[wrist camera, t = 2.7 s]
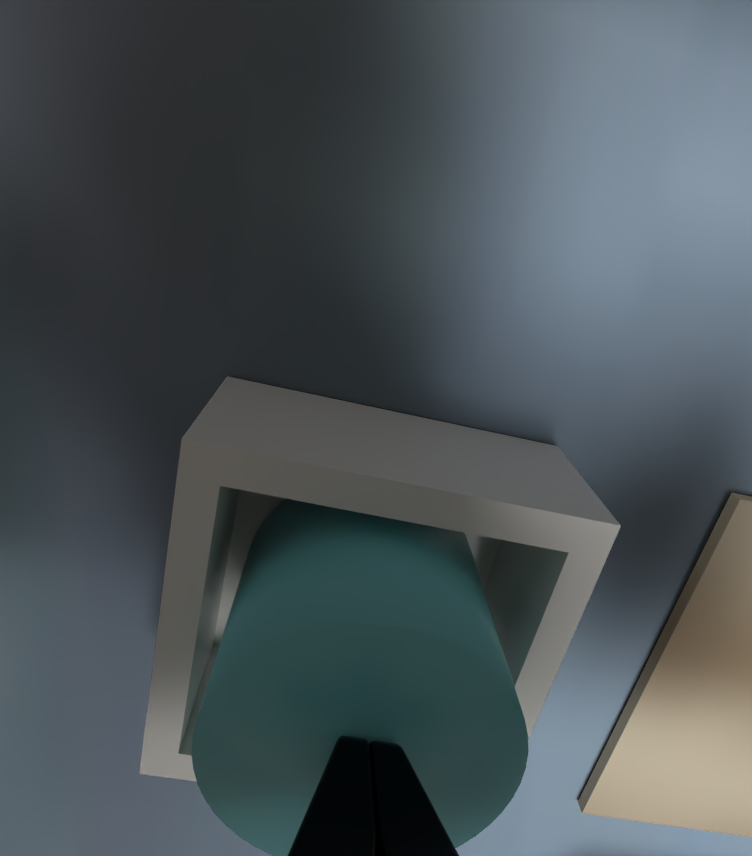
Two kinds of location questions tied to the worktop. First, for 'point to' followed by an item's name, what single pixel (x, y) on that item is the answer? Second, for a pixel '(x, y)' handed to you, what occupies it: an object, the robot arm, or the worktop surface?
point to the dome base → (376, 495)
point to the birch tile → (691, 702)
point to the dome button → (356, 673)
